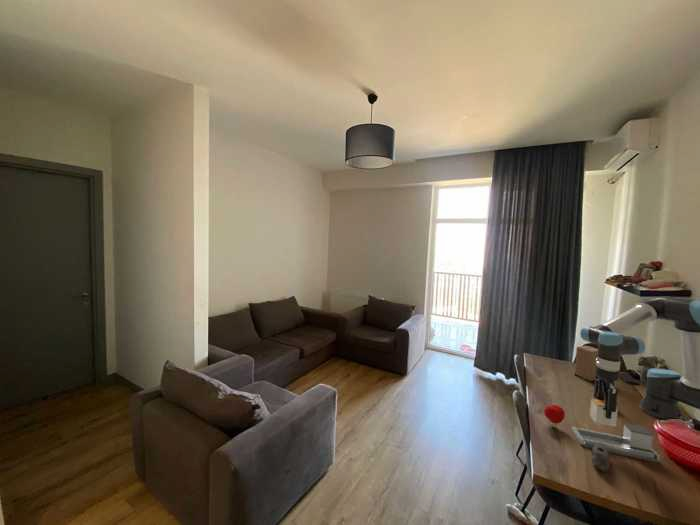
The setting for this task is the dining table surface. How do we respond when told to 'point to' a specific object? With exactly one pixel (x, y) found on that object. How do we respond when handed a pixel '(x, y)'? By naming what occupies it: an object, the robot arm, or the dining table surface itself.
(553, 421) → the red round lump
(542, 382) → the dining table surface
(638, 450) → the rail
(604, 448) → the perforated stone tool
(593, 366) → the wooden block
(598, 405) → the module
